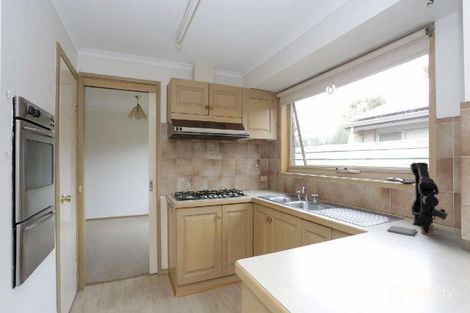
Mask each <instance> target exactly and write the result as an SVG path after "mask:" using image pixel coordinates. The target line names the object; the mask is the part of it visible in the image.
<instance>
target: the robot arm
mask: <svg viewBox="0 0 470 313" xmlns="http://www.w3.org/2000/svg"><path fill="white" fill-rule="evenodd" d="M409 166H410V168H409V169H410V171H411V173H412V176H414V195H415V196H414V198H415V199H414V200H413V201H412V205H411V206H410V214H411V215H412V216H413V223H412V225H415V226H420V227H421V225H422V227H423V229H424V231H425V233H428V231H429V227H430V224H431V225H433V224H434V221H435V220H436V218H440V219H442V220H444V221H445V220H446V219H447V217H448V215H449V214H448V212H446V209H444V208H441V209H437V208H436V207H437V206H438V205H439V202H440V201H439V198H437V197H436V196H438V195H439V193H440V192H439V186H438V185H437V184H436V183H435V181H434V179H432V178H431V177H430V174H429V164H428V163H427V162H412V163H411V164H409ZM435 195H436V196H435Z"/></svg>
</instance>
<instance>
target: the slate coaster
mask: <svg viewBox="0 0 470 313" xmlns="http://www.w3.org/2000/svg"><path fill="white" fill-rule="evenodd" d="M417 231H418V229H416V228H409V227H404V226H397V225H391V226H390V227H388V229H387V232H389V233H395V234H400V235H406V236H412V237H414V236H415V235H416V233H417Z"/></svg>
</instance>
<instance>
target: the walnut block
mask: <svg viewBox="0 0 470 313" xmlns="http://www.w3.org/2000/svg"><path fill="white" fill-rule="evenodd" d="M434 227H435V226H434V224H430V227H429V231H428V233H425V231H424V229H423V227H422V225H421V226H420V228H421V229H420V230H421V231H420V232H421V234H422V235H427V236H432V237H433V236H434V234H435V230H434V229H435V228H434Z"/></svg>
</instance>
